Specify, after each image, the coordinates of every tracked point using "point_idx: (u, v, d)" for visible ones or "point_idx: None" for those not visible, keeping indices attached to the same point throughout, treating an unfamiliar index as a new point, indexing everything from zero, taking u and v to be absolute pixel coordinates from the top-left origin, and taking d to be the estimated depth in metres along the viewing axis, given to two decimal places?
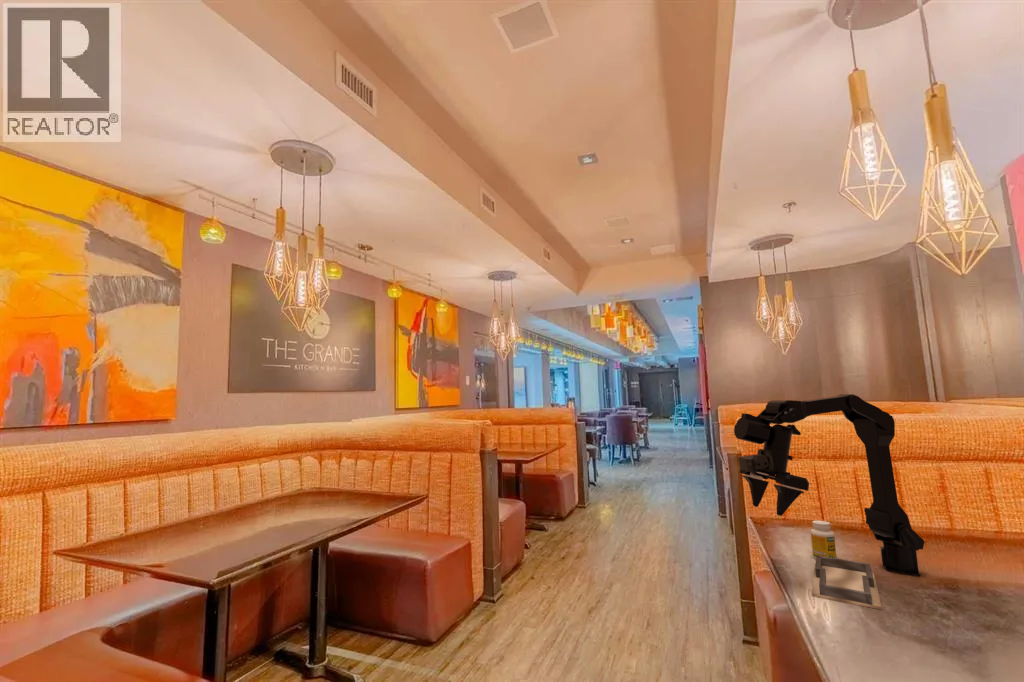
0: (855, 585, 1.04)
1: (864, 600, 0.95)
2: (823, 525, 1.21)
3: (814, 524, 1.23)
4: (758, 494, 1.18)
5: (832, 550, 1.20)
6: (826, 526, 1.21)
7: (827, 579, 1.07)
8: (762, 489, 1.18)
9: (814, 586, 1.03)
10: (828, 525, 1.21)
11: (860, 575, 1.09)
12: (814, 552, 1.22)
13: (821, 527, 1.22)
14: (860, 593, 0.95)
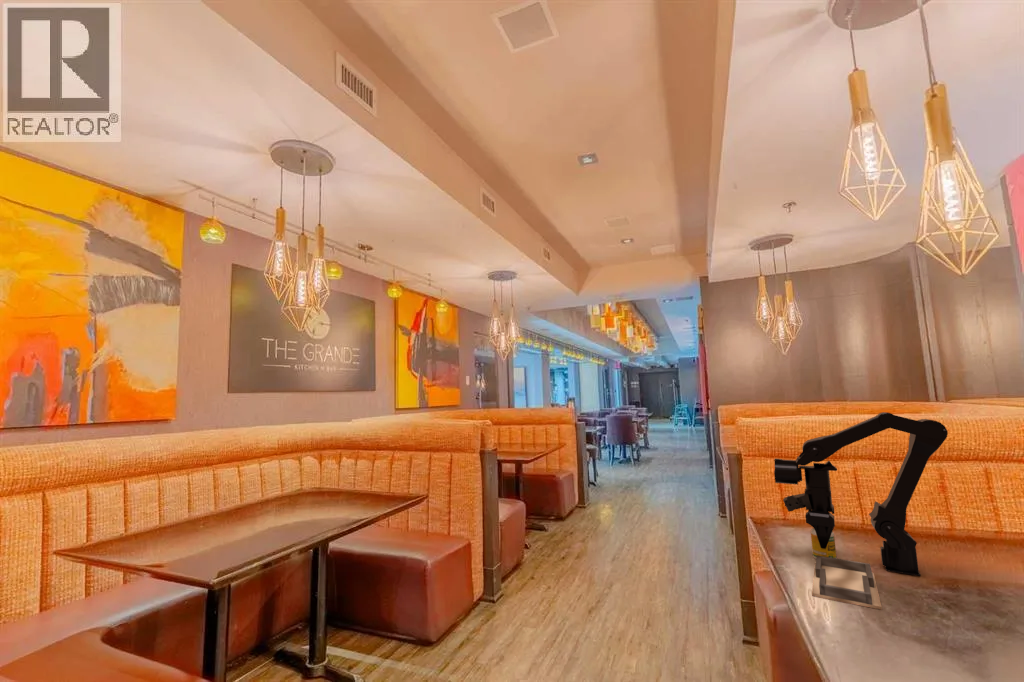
0: (855, 585, 1.04)
1: (864, 600, 0.95)
2: None
3: None
4: None
5: (832, 550, 1.20)
6: None
7: (827, 579, 1.07)
8: None
9: (814, 586, 1.03)
10: None
11: (860, 575, 1.09)
12: (814, 552, 1.22)
13: None
14: (860, 593, 0.95)
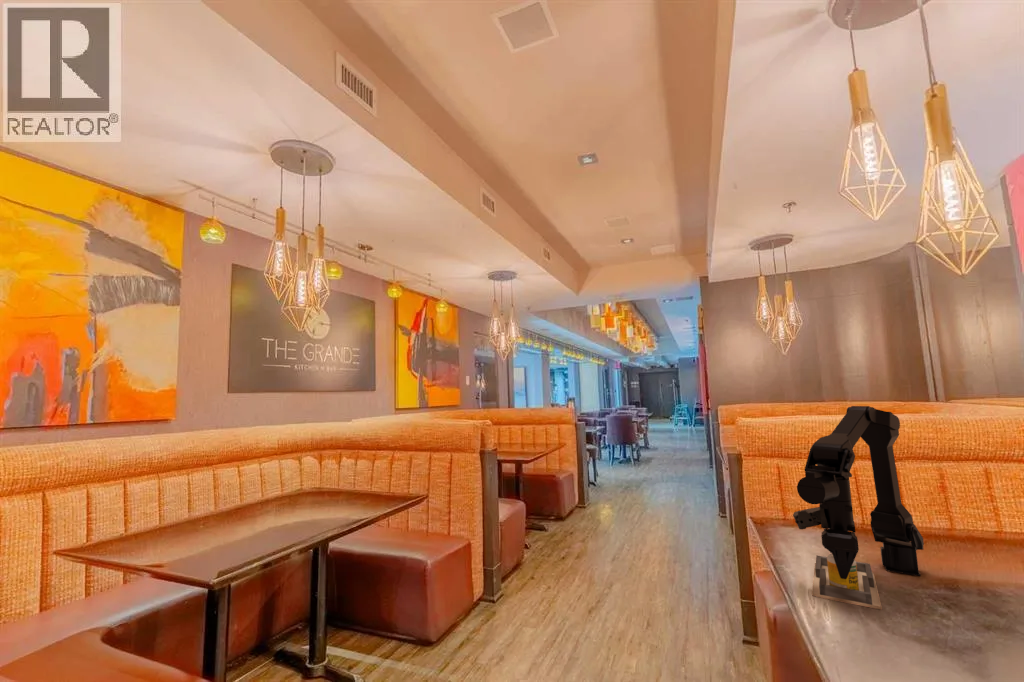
0: None
1: (864, 600, 0.95)
2: None
3: None
4: None
5: (854, 583, 0.97)
6: None
7: (827, 579, 1.07)
8: None
9: (814, 586, 1.03)
10: None
11: (860, 575, 1.09)
12: (832, 584, 1.00)
13: None
14: (860, 593, 0.95)
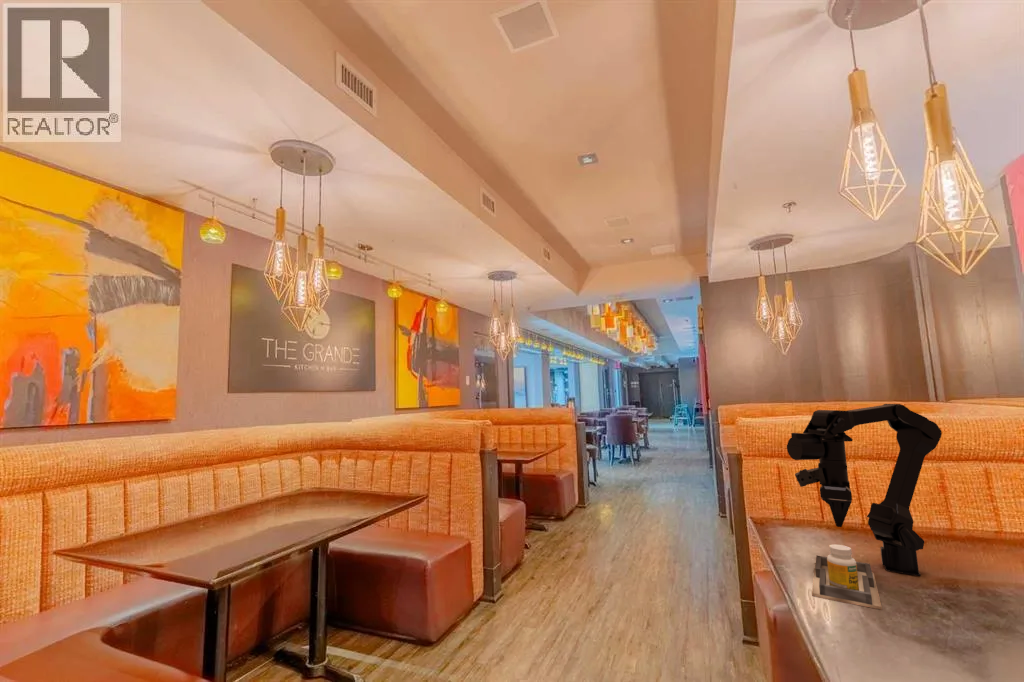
0: None
1: (864, 600, 0.95)
2: (843, 551, 0.99)
3: (831, 549, 1.01)
4: None
5: (854, 583, 0.97)
6: (847, 553, 0.99)
7: (827, 579, 1.07)
8: None
9: (814, 586, 1.03)
10: (849, 551, 0.99)
11: (860, 575, 1.09)
12: (832, 584, 1.00)
13: (841, 553, 0.99)
14: (860, 593, 0.95)
